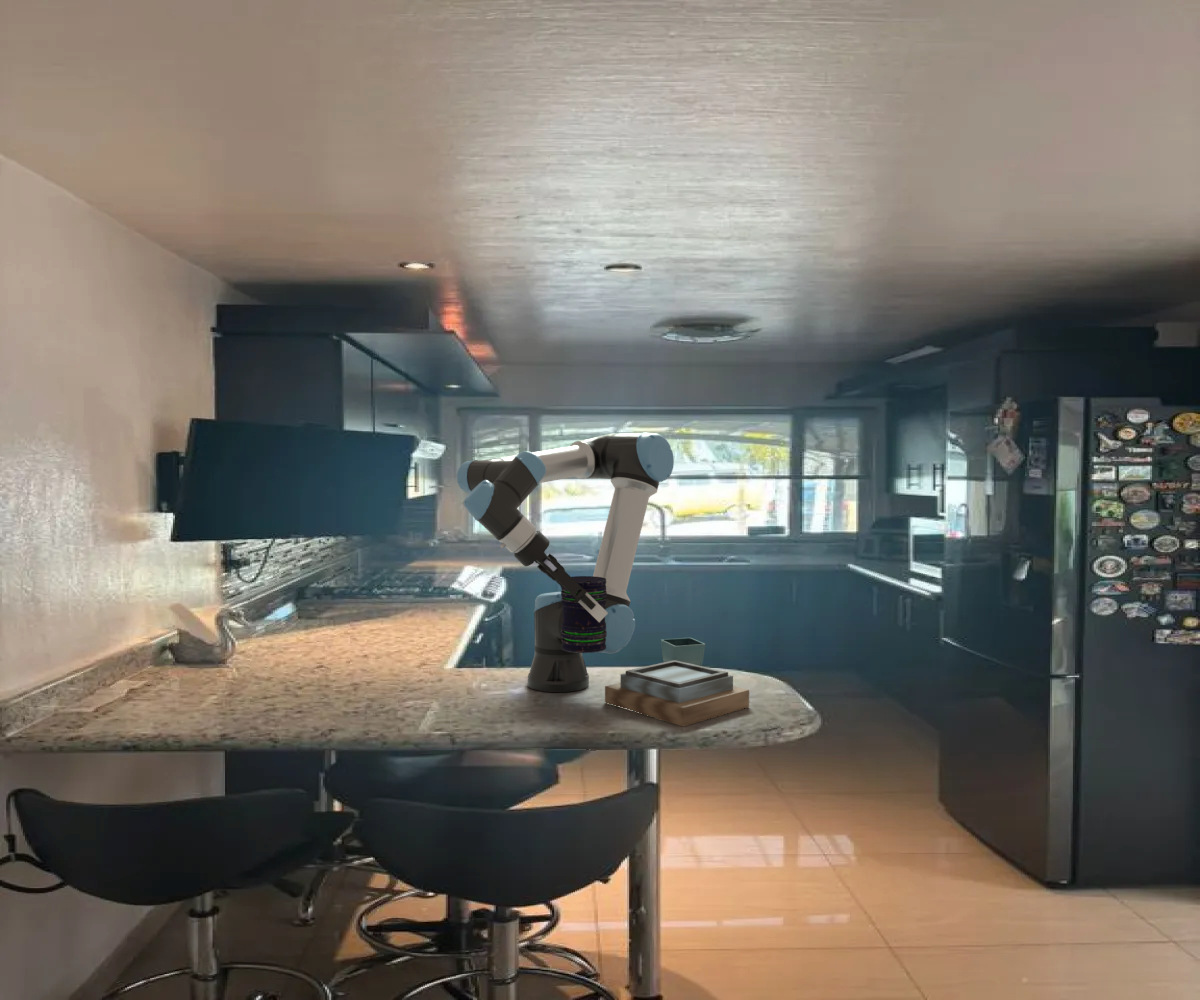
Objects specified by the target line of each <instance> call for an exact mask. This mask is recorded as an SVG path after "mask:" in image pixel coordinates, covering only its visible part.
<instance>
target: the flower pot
mask: <svg viewBox="0 0 1200 1000" xmlns="http://www.w3.org/2000/svg"><path fill="white" fill-rule="evenodd" d="M660 645H661V646H660V647H661V654H662V659H663V660H662V661H663V663H664V662H668V661H673V660H676V661H681V662H685V663H690V664H694V665H698V666H703V662H704V655H705V650H706V649H705V648H706V643H705V642H702V641H700V640H697V639H695V638H692V637H681V638H679V637H678V638H665V639H660Z"/></svg>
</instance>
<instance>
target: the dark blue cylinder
mask: <svg viewBox="0 0 1200 1000" xmlns="http://www.w3.org/2000/svg"><path fill="white" fill-rule="evenodd" d="M571 577H572V578H573V579H574V580H575V581H576V582H577V583H578V584H579V585H580V586H581V587H582V588H583V589H585V590H586V592H587V593H588V594H589V595H590V596H591V597H592V598H593V599H594V600H595V601H596V602H597V603H598V604H599V605H600V606H601V607H602V608H604V609H605V606H606V602H607V601H606V597H607V591H606V579H605V578H602V577H594V576H593V575H592V576H588V575H587V576H585V575H582V576H581V575H578V576H577V575H576V576H571ZM579 591H580V590H579ZM579 591H578V592H579ZM560 592H561V597H562V598H561V604H562V606H563V622H562V624H561V629H562V631H561V637H562V650H564V651H567V652H574V653H582V654H590V653H591V654H593V653H598V652H600V651H603V650H605V649H606V644H605V642H606V637H607V631H606V622H605V617H604V618H603V619H602V620H601V621H600V622H598V621H597V620H596V619H595V618H594V617H593V616H592V615H591V614H590V613H589V612H588V611H587V610H586V609H585V608H584V607H583V606H582V605H581V604H580V603H579V602H577V603H575V602H574V600H575V597H574V596H573V595H572V594H571V593H570V592H568V591H567V590H566V589H565V588H564V587H563V586H562V588H561V590H560ZM578 592H577V593H578ZM577 593H576V594H577Z"/></svg>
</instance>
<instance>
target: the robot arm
mask: <svg viewBox="0 0 1200 1000" xmlns="http://www.w3.org/2000/svg"><path fill="white" fill-rule="evenodd" d="M674 457H675V456H674V453H673V449H672V448H671V445H670V443H669V441H668V440H667V439H666V438H665V437H664V436H663V435H661V434H659V433H657V432H656V433H654V432H647V431H644V432H620V433H619V432H612V433H607V434H603V435H599V436H594V437H590V438H586V439H582V440H577V441H574V442H572V443H571V444H570V445H569V446H563V447H557V448H553V449H552V448H551V449H545V450H540V451H539V450H537V451H532V452H531V451H530V450H523V451H520V452H519V453H518V454H513V455H508V456H503V457H497V458H490V459H482V460H478V459H473V460H467V461H464V462H463V463H462V464H461V465H460V466H459V467H458V469H457V473H456V481H457V484H458V487H459V488H460V489H461V490H462V491H463V492H465V493H468V494H467V496H465V498H464V499H463V506H464V508H465V510H467V512H468V513H469V514H470V515H471V516H472V517H473V518H474V520H476V521H477V522H478V523H479V524H481V525H482V527H484V528H485V529H486V530H487V532H489V533H490V534H491V535H492V536H493V537H494V538H496V540H497V541H498V542H499V543H501V544H500V545H499V547H500V548H501V549H504V548H505V549H507V550H508V551H509V552H510V553H511V554H512V553H513V554H514V558H515V559H516V560H518V561H519V562H520V564H522V565H523V566H524V567H530V566H531V565H533V564H534V563H536V564H537V566H536V567H537V569H539V570H540V571H541V572H542V573H543V574H545V575H546V576H547V577H549V578H550V579H552V580H553V582H554V581H555V582H556V583H557V584H558V585H559V586H560V588H561V589H562V586H563V587H564V588H565V589H566V590H567V591H568V592H570V593H571V594H572V595H573V596H574V597H575V600H574V602H575V603H577V602H579V603H580V604H581V605H582V606H583V607H584V608H585V609H586V610H587V611H588V612H589V613H590V614H591V615H592V616H593V617H594V618H595V619H596V620H597V621H598V622H600V621H601V620H602V619H603V618H604V617H605V622H606V631H607V637H606V642H605V644H606V649H605V650H603V651H600V652H597V653H599V654H602V653H605V654H615V653H618V652H620V651H621V650H623V649H624V648H625V647H626V646H627V645H628V644H629V642H630V641H631V639H632V637H633V635H634V631H635V629H636V619H635V618H634V617H635V615H634V614H635V613H634V611H633V610H632V609H631V608H630V604H631V600H630V597H629V596H628V593H627V590H628V585H629V581H630V579H631V578H630V577H631V573H632V569H633V566H634V561H635V557H636V552H637V548H638V544H639V540H640V536H641V532H642V528H643V525H644V520H645V516H646V511H647V509H648V504H649V499H650V497H652V496H653V495H655V494H657V493H658V489H659V485H660V483H661V482H664V481H666V480H668V478H670V477H671V475H672V472H673V470H674V465H675V464H674V463H675V460H674ZM570 478H577V479H579V480H585V479H605V480H610V483H611V484H612V486H613V489H614V492H613V494H612V500H611V502H610V506H609V507H610V508H609V511H608V515H607V519H606V523H605V527H604V531H603V533H602V534H603V535H602V538H601V539H602V540H601V544H600V546H599V551H598V555H597V557H596V558H597V559H596V562H595V566H594V569H593V570H594V571H593V573H592V574H593V575H592V576H594V577H602V578H605V579H606V591H607V597H606V601H607V602H606V606H605V609H604V608H602V607H601V606H600V605H599V604H598V603H597V602H596V601H595V600H594V599H593V598H592V597H591V596H590V595H589V594H588V593H587V592H586V590H585V589H583V588H582V587H581V586H580V585H579V584H578V583H577V582H576V581H575V580H574V579H573V578H572V577H573V576H570V574H569V573H567V571H566V569H565V567H563V565H562V564H561V563H560V562H559V561H558V560H557V558H556V557H555V556H554V555H553V554H551V553H549V554H546V553H545V552H546V550H547V549H548V548H549V546H550V543H551V542H550V540H549V539H548V538H547V537H546V536H545V535H544V534H543V533H542V532H541V531H540V530H537V527H536V526H535V525H534V524H533V523H532V522H531V521H530V520H529V519H528V517H526V516H525V515H524V514H523V513H522V512H521V511H520V510H519V509H518V508H519V507H520V506H521V505H522V503H523V502H524V501H525V500H526V499H527V498H528V497H529V496H530V495H531V493H532V492H534V490H535V489H536V488H537V487H538V486H539V485H540V484H542V483H548V482H549V483H550V482H553V481H560V480H564V479H570ZM579 590H580V591H579ZM578 591H579V592H578ZM577 592H578V593H577ZM576 593H577V594H576ZM561 598H562V597H561V591H554V592H553V591H552V592H545V593H541V594H539V595H537V596H536V598H535V600H534V609H533V613H534V614H533V615H534V617H533V619H534V620H533V621H534V623H533V624H534V655H533V659H532V662H531V665H530V670H529V673H528V675H527V687H528V688H530V689H532V690H535V691H539V692H543V693H544V692H545V693H546V692H547V693H568V692H569V693H571V692H577V691H581V690H584V689H586V688H587V687H589V685H590V675H589V673H588V669H587V665H586V662H585V660H584V656H583V653H574V652H567V651H564V650H562V637H561V631H562V629H561V624H562V622H563V606H562V604H561Z"/></svg>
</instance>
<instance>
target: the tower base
mask: <svg viewBox="0 0 1200 1000" xmlns="http://www.w3.org/2000/svg"><path fill="white" fill-rule="evenodd" d="M605 702H606V703H609V704H613V705H616V706H620V707H623V708H627V709H630V710H633V711H636V712H639V713H642V714H645V715H648V716H647V717H649V716H651V717H650V718H652V717H655V718H654V719H656V718H657V719H656V720H659V719H661V720H660V721H662V720H664V721H663V722H666V721H667V722H666V723H669V722H670V724H673V725H676V726H680V727H686V726H691V725H693V724H697V723H701V722H703V721H707V719H708V720H711V719H714V718H718V717H721V716H724V714H725V715H728V714H731V713H734V711H735V712H738V711H741V709H742V710H745V709H747V708H748V707H750V690H749V689H747V688H742V687H738V686H734V675H730V674H729V672H728V671H724V670H719V669H716V668H711V667H708V666H703V665H701V666H698V665H694V664H690V663H685V662H681V661H676V660H673V661H668V662H664V661H663V662H659V663H657V664H656V663H654V664H651V665H646V666H645V665H644V666H642V667H641V666H640V667H637V668H633V669H628V670H625V673H624V672H623V673H621V674H620V682H618V683H614V684H609V685H605V686H604V703H605ZM744 708H745V709H744ZM639 713H638V714H639ZM727 713H728V714H727ZM642 714H641V715H642ZM645 715H644V716H645ZM717 716H718V717H717ZM710 718H711V719H710Z"/></svg>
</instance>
